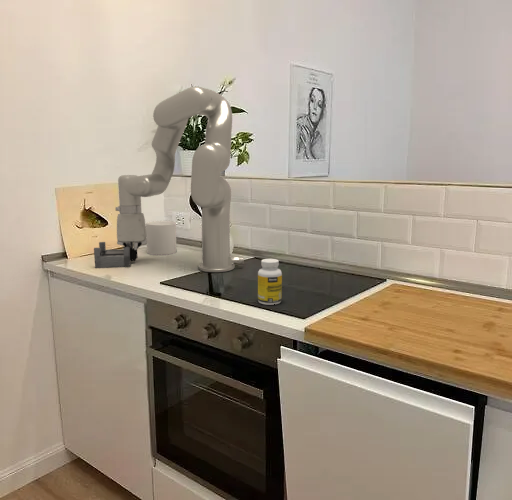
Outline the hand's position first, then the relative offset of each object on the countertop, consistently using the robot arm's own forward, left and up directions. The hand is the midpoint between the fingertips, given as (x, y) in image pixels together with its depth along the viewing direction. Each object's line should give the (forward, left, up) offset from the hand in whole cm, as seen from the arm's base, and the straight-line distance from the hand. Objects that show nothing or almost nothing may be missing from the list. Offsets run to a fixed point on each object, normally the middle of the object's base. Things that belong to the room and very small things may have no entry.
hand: (133, 260), depth 184 cm
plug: (+6, 0, -1) cm, 6 cm away
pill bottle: (-42, +54, -1) cm, 68 cm away
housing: (+6, 0, -1) cm, 7 cm away
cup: (-10, -18, -1) cm, 20 cm away
